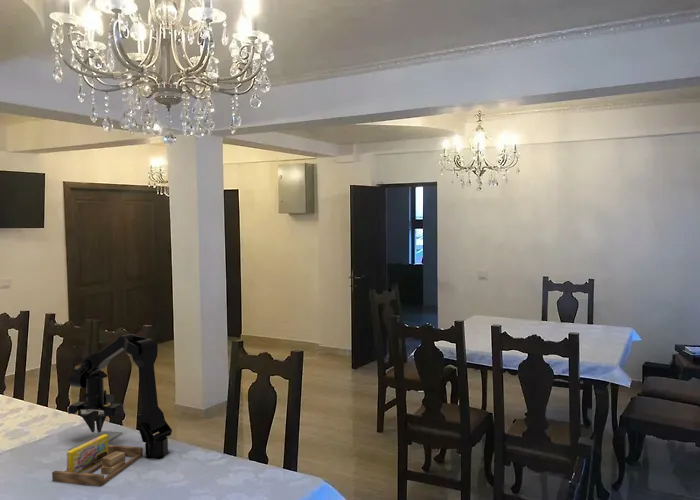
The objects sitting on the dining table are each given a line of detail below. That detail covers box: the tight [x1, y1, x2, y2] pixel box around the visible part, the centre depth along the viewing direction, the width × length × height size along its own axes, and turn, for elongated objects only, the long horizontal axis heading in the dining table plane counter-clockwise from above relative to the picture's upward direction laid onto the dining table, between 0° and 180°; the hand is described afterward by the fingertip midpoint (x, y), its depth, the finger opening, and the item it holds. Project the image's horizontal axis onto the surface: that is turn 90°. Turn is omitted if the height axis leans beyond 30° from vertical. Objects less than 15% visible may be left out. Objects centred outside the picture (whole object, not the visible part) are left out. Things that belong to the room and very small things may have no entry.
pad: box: [68, 430, 123, 451], centre depth 203 cm, size 9×18×1 cm, turn 169°
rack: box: [51, 444, 144, 487], centre depth 180 cm, size 17×22×3 cm
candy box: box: [66, 434, 109, 473], centre depth 181 cm, size 16×2×8 cm, turn 162°
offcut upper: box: [102, 451, 126, 468], centre depth 179 cm, size 4×6×2 cm, turn 157°
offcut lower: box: [100, 460, 126, 475], centre depth 179 cm, size 4×7×2 cm, turn 171°
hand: (96, 432), depth 202 cm, fingers closed
